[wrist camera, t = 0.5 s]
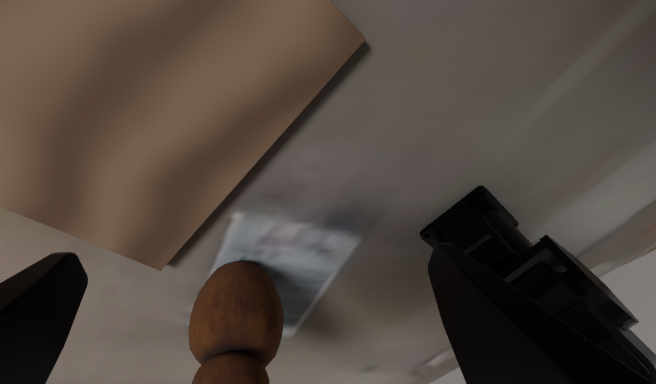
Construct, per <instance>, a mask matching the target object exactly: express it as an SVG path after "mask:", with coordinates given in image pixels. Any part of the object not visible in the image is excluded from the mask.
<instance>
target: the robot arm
mask: <svg viewBox="0 0 656 384" xmlns="http://www.w3.org/2000/svg"><path fill="white" fill-rule="evenodd" d="M480 192H481V193H480ZM479 193H480V194H479ZM518 224H519V223H518V222H517V221H516V220H515V219H514V217H513V216H512V215H511V214H510V213H509V212H508V211H507V210H506V209H505V208H504V207H503V206H502V205H501V204H500V203H499V202H498V200H497V199H496V198H495V197H494V196H493V195H492V194H491V193H490V192H489V191H488V190H487V189H486V188H485V187H484V186H479V187H477V188H475V189H474V190H473V191H472V192H470V193H469V194H468V195H466V196H465V197H464V198H463V199H461V200H460V201H459V202H458V203H456V204H455V205H454V206H452V207H451V208H450V209H449V210H447V211H446V212H445V213H443V214H442V215H441V216H440V217H438V218H437V219H436V220H434V221H433V222H432V223H431V224H429V225H428V226H427V227H426V228H424V229H423V230H422V231H421V232H420V236H421V238H422V240H424V241H425V242H426V243H428V244H429V245H430V246H432V247H433V248H434V249H433V251H432V254H431V257H430V260H429V263H428V274H429V277H430V281H431V284H432V288H433V291H434V295H435V298H436V302H437V306H438V309H439V313H440V316H441V319H442V323H443V326H444V328H445V331H446V334H447V336H448V339H449V341H450V344H451V346H452V349H453V351H454V354H455V356H456V359H457V361H458V364H459V366H460V369H461V371H462V374H463V376H464V379H465V381H466V383H467V384H656V355H655V354H654V353H653V352H652V351H651V350H650V349H649V348H648V347H647V346H646V345H645V344H644V343H643V342H642V341H641V340H640V339H639V338H638V337H637V336H636V335H635V334H634V333H633V332H632V331H631V330H630V329H629V328H630V327H632V326H633V325H635V324H637V323H639V321H638V320H637V319H636V318H635V317H634V316H633V314H632V313H631V312H630V311H629V310H628V309H627V308H626V307H625V306H624V305H623V303H622V302H620V300H619V299H618V298H617V297H616V296H615V295H614V294H613V293H612V292H611V290H610V289H609V288H608V287H607V286H606V285H605V284H604V283H603V282H602V281H601V280H600V279H599V278H598V277H597V276H595V275H594V274H593V273H592V272H591V271H590V270H589V269H588V268H587V267H586V266H585V265H583V264H582V263H581V262H580V261H579V260H578V259H577V258H576V257H574V256H573V255H572V254H571V253H569V252H568V251H567V250H566V249H564V248H563V247H562V246H560V245H559V244H558V243H557V242H555V241H554V240H553V239H552V238H550V237H549V236H548V235H547V234H546V235H545V236H544V237H542V238H541V239H540V241H539V242H538V243H537V244H535V245H534V246H533V245H532V244H531V243H530V242H529V241H528V240H527V239H526V238H525V236H524V235H523V234H522V233H521V232H520V231H519V230H518V229H517V226H518ZM426 234H427V235H426ZM87 283H88V277H87V274H86V272H85V270H84V268H83V266H82V264H81V262H80V260H79V258H78V256H77V255H76V254H75V253H72V252H63V253H53V254H50V255H48V256H47V257H45V258H43V259H42V260H40V261H38V262H36V263H35V264H33V265H31V266H29V267H28V268H26V269H24V270H22V271H21V272H19V273H17V274H15V275H14V276H12V277H10V278H9V279H7V280H5V281H3V282H2V283H0V384H45V383H46V381H47V379H48V377H49V375H50V373H51V371H52V369H53V367H54V365H55V363H56V361H57V359H58V357H59V355H60V353H61V351H62V349H63V347H64V344H65V342H66V340H67V337H68V335H69V332H70V329H71V327H72V324H73V322H74V319H75V316H76V314H77V311H78V308H79V306H80V303H81V300H82V298H83V295H84V293H85V290H86V287H87Z"/></svg>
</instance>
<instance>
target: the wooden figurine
mask: <svg viewBox="0 0 656 384" xmlns="http://www.w3.org/2000/svg"><path fill="white" fill-rule="evenodd" d="M283 324H284V321H283V308H282V304H281V301H280V298H279V296H278V293H277V291H276V289H275V286H274V284H273V282H272V280H271V278H270V276H269V275H268V274H267V273H266V271H265V270H263V269H261V268H260V267H258V266H257V265H254V264H252V263H249V262H242V261H235V262H231V263H227V264H225V265H223V266H221V267H219V268H218V269H217V270H216V271H215V272H214V273H213V274H212V275H211V276H210V278H209V279H208V280H207V281H206V283H205V284H204V286H203V287H202V289H201V290H200V292H199V294H198V297H197V299H196V301H195V303H194V307H193V310H192V313H191V318H190V323H189V344H190V350H191V351H192V353H193V355H194V357H195V358H196V359H197V361H198V362H199V363H200V364H201V367H200V368H199V369H198V371H197V373H196V374H195V376H194V379H193V382H192V384H269V377H268V375H267V372H266V370H265V367H266V366H267V365H268V364H269V363H270V362H271V360H272V359H273V358H274V357H275V356H276V353H277V350H278V348H279V345H280V341H281V337H282V331H283Z"/></svg>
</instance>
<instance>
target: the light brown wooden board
mask: <svg viewBox="0 0 656 384" xmlns="http://www.w3.org/2000/svg"><path fill="white" fill-rule="evenodd" d="M365 40H366V39H365V38H364V36H363V35H362V34H361V33H360V32H359V31H358V30H357V29H356V28H355V26H354V25H353V24H352V23H351V22H350V21H349V20H348V19H347V18H346V16H345V15H344V14H343V13H342V12H341V11H340V10H339V9H338V7H337V6H336V5H335V4H334V3H333V2H332V1H331V0H0V207H3V208H5V209H8V210H10V211H13V212H15V213H18V214H20V215H23V216H25V217H28V218H30V219H33V220H35V221H38V222H40V223H43V224H45V225H48V226H50V227H53V228H55V229H58V230H60V231H63V232H65V233H68V234H70V235H73V236H75V237H78V238H80V239H83V240H85V241H88V242H90V243H93V244H95V245H98V246H100V247H103V248H105V249H108V250H110V251H113V252H115V253H118V254H120V255H123V256H125V257H128V258H130V259H133V260H135V261H138V262H140V263H142V264H145V265H147V266H150V267H152V268H155V269H157V270H160V271H161V270H162V269H163V268H164V266H165V265H166V264H167V263H168V262H169V261H170V260H171V259H172V257H173V256H174V255H175V254H176V253H177V252H178V251H179V249H180V248H181V247H182V246H183V245H184V244H185V243H186V242H187V240H188V239H189V238H190V237H191V236H192V235H193V234H194V233H195V231H196V230H197V229H198V228H199V227H200V226H201V225H202V224H203V222H204V221H205V220H206V219H207V218H208V217H209V216H210V215H211V213H212V212H213V211H214V210H215V209H216V208H217V207H218V205H219V204H220V203H221V202H222V201H223V200H224V199H225V198H226V196H227V195H228V194H229V193H230V192H231V191H232V190H233V189H234V187H235V186H236V185H237V184H238V183H239V182H240V181H241V180H242V178H243V177H244V176H245V175H246V174H247V173H248V172H249V171H250V169H251V168H252V167H253V166H254V165H255V164H256V163H257V161H258V160H259V159H260V158H261V157H262V156H263V155H264V154H265V152H266V151H267V150H268V149H269V148H270V147H271V146H272V145H273V143H274V142H275V141H276V140H277V139H278V138H279V137H280V136H281V134H282V133H283V132H284V131H285V130H286V129H287V128H288V126H289V125H290V124H291V123H292V122H293V121H294V120H295V119H296V117H297V116H298V115H299V114H300V113H301V112H302V111H303V110H304V108H305V107H306V106H307V105H308V104H309V103H310V102H311V101H312V99H313V98H314V97H315V96H316V95H317V94H318V93H319V92H320V90H321V89H322V88H323V87H324V86H325V85H326V84H327V82H328V81H329V80H330V79H331V78H332V77H333V76H334V75H335V73H336V72H337V71H338V70H339V69H340V68H341V67H342V66H343V64H344V63H345V62H346V61H347V60H348V59H349V58H350V57H351V55H352V54H353V53H354V52H355V51H356V50H357V49H358V48H359V46H360V45H361V44H362V43H363V42H364V41H365Z"/></svg>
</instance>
